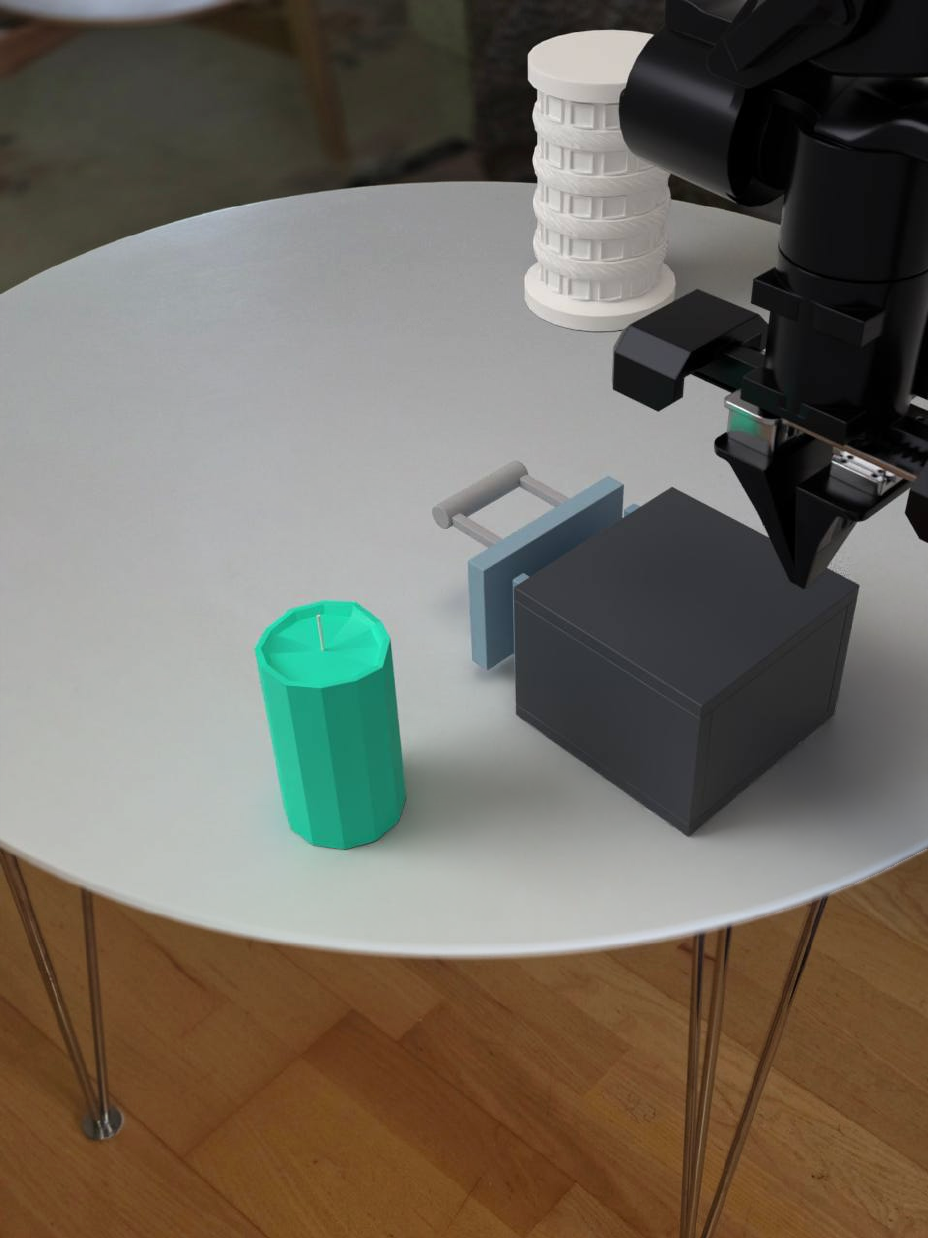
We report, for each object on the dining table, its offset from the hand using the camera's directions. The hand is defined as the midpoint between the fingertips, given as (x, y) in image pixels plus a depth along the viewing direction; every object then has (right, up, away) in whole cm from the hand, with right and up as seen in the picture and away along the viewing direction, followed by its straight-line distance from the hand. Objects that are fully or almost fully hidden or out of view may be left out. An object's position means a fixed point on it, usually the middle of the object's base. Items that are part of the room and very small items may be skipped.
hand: (804, 581), depth 60 cm
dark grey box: (-4, -7, +11) cm, 13 cm away
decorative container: (-4, +23, +46) cm, 52 cm away
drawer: (-9, -3, +14) cm, 17 cm away
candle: (-21, -11, +7) cm, 24 cm away
